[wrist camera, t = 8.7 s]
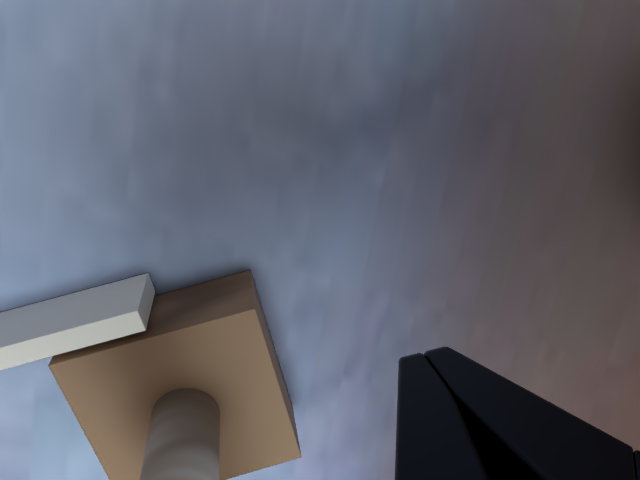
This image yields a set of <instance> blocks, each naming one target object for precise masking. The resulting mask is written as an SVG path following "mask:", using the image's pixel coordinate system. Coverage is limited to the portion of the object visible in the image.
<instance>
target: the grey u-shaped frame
mask: <svg viewBox="0 0 640 480" xmlns="http://www.w3.org/2000/svg"><path fill="white" fill-rule="evenodd" d="M154 295H155V289H154V286H153V284H152V281H151V279H150V276H149V274H148V273H146V274H142V275H139V276H135V277H131V278H127V279H124V280H120V281H116V282H113V283H109V284H105V285H101V286H98V287H94V288H90V289H86V290H83V291H79V292H75V293H71V294H68V295H64V296H60V297H56V298H53V299H49V300H45V301H41V302H38V303H34V304H30V305H26V306H23V307H19V308H15V309H11V310H8V311H4V312H0V370H3V369H7V368H11V367H14V366H18V365H22V364H25V363H29V362H33V361H36V360H40V359H44V358H47V357H51V356H54V355H58V354H62V353H65V352H69V351H73V350H76V349H80V348H84V347H87V346H91V345H95V344H98V343H102V342H106V341H109V340H113V339H116V338H120V337H124V336H127V335H131V334H135V333H138V332H142V331H146V328H147V324H148V319H149V315H150V311H151V307H152V303H153V299H154Z"/></svg>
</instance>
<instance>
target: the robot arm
mask: <svg viewBox="0 0 640 480" xmlns="http://www.w3.org/2000/svg"><path fill="white" fill-rule="evenodd" d="M395 480H640V451H638V450H636V451H634V453H633V448H632V447H631V446H629V445H627V444H625V443H623V442H622V441H620V440H618V439H616V438H614V437H612V436H611V435H609V434H607V433H605V432H603V431H601V430H600V429H598V428H596V427H594V426H592V425H590V424H589V423H587V422H585V421H583V420H581V419H579V418H578V417H576V416H574V415H572V414H570V413H568V412H567V411H565V410H563V409H561V408H559V407H557V406H556V405H554V404H552V403H550V402H548V401H546V400H545V399H543V398H541V397H539V396H537V395H535V394H534V393H532V392H530V391H528V390H526V389H524V388H523V387H521V386H519V385H517V384H515V383H513V382H512V381H510V380H508V379H506V378H504V377H502V376H501V375H499V374H497V373H495V372H493V371H491V370H490V369H488V368H486V367H484V366H482V365H480V364H479V363H477V362H475V361H473V360H471V359H469V358H468V357H466V356H464V355H462V354H460V353H458V352H457V351H455V350H453V349H451V348H449V347H441V348H437V349H433V350H429V351H426V352H425V353H424V355H423V354H421V353H417V354H413V355H409V356H405V357H401V358H400V359H399V371H398V401H397V430H396V460H395Z"/></svg>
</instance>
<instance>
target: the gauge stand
mask: <svg viewBox="0 0 640 480" xmlns="http://www.w3.org/2000/svg"><path fill="white" fill-rule="evenodd" d="M49 368H50V370H51V372H52V373H53V375H54V377H55V379H56V381H57V383H58V385H59V386H60V388H61V390H62V392H63V394H64V396H65V398H66V400H67V401H68V403H69V405H70V407H71V409H72V411H73V413H74V414H75V416H76V418H77V420H78V422H79V424H80V426H81V428H82V429H83V431H84V433H85V435H86V437H87V439H88V441H89V442H90V444H91V446H92V448H93V450H94V452H95V454H96V456H97V457H98V459H99V461H100V463H101V465H102V467H103V469H104V470H105V472H106V474H107V476H108V478H109V480H226V479H229V478H233V477H236V476H239V475H243V474H246V473H250V472H253V471H256V470H260V469H263V468H266V467H270V466H273V465H277V464H280V463H283V462H287V461H290V460H293V459H297V458H300V457H301V452H300V446H299V441H298V435H297V429H296V424H295V418H294V412H293V407H292V403H291V400H290V397H289V393H288V390H287V387H286V384H285V380H284V377H283V374H282V371H281V367H280V364H279V361H278V357H277V354H276V351H275V348H274V344H273V341H272V338H271V335H270V331H269V328H268V325H267V322H266V318H265V315H264V312H263V308H262V305H261V302H260V299H259V295H258V292H257V289H256V286H255V282H254V279H253V276H252V272H251V270H249V271H245V272H242V273H238V274H234V275H230V276H227V277H223V278H219V279H216V280H212V281H208V282H205V283H201V284H197V285H193V286H190V287H186V288H182V289H179V290H175V291H171V292H168V293H164V294H160V295H156V296H154V299H153V303H152V307H151V311H150V315H149V319H148V324H147V328H146V331H142V332H138V333H135V334H131V335H127V336H124V337H120V338H116V339H113V340H109V341H106V342H102V343H98V344H95V345H91V346H87V347H84V348H80V349H76V350H73V351H69V352H65V353H62V354H58V355H54V356H53V357H52V360H51V362H50V364H49Z"/></svg>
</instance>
